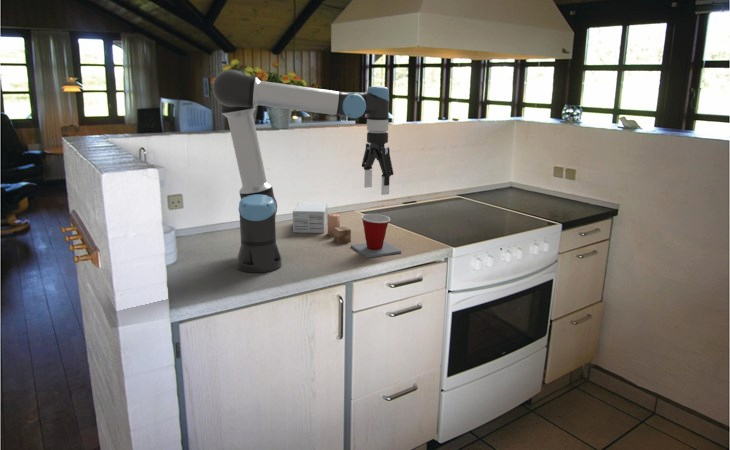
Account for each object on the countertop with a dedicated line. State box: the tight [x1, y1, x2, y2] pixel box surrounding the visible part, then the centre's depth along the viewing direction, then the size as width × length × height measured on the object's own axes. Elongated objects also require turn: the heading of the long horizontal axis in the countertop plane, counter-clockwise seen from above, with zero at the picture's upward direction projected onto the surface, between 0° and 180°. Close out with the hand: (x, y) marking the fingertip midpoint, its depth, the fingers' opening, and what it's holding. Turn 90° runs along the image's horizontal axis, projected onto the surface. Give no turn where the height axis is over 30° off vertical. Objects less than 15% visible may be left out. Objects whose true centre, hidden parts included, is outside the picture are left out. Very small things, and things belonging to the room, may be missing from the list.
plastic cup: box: [361, 213, 391, 250], centre depth 204 cm, size 11×11×12 cm
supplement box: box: [292, 202, 328, 234], centre depth 233 cm, size 17×13×9 cm
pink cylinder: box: [327, 213, 341, 237], centre depth 224 cm, size 5×5×8 cm
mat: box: [350, 240, 402, 259], centre depth 205 cm, size 14×14×1 cm
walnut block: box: [333, 226, 352, 244], centre depth 216 cm, size 5×5×5 cm
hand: (376, 190), depth 199 cm, fingers open, 13 cm apart
